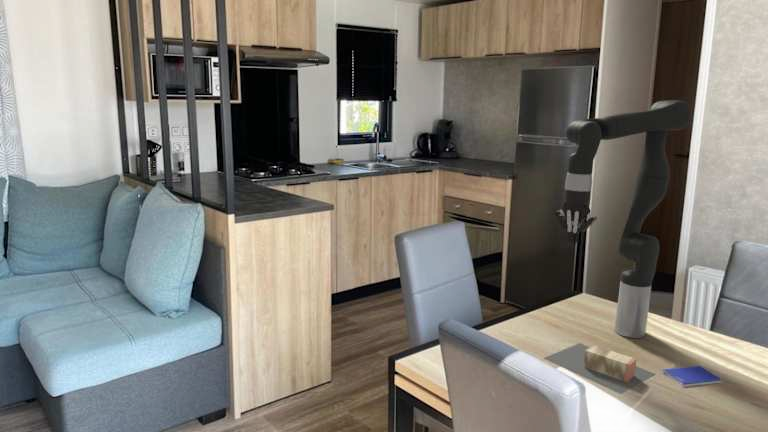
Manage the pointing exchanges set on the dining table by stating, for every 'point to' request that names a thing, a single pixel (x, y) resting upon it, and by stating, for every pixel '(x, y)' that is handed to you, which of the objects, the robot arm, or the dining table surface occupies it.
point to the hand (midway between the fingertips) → (572, 243)
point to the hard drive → (691, 376)
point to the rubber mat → (575, 363)
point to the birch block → (610, 363)
